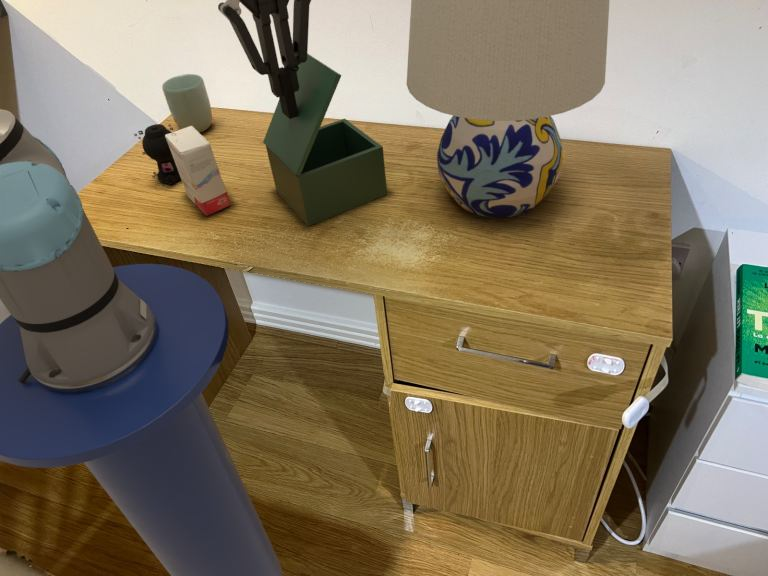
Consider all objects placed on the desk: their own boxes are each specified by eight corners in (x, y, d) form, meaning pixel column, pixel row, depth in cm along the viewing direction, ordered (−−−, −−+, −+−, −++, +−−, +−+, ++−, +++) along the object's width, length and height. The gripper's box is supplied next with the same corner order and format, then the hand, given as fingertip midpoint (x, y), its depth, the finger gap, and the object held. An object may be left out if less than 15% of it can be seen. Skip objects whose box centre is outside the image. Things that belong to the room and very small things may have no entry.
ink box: (232, 206, 99) (213, 142, 91) (203, 218, 97) (181, 154, 89) (212, 185, 104) (192, 123, 96) (185, 196, 102) (162, 133, 95)
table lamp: (440, 143, 109) (436, -117, 82) (593, 160, 100) (644, -123, 74) (388, 228, 91) (361, -70, 64) (570, 258, 82) (627, -72, 55)
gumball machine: (151, 189, 105) (131, 138, 98) (153, 173, 109) (134, 123, 103) (189, 182, 106) (172, 131, 99) (190, 166, 110) (173, 116, 103)
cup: (223, 123, 123) (210, 75, 116) (200, 140, 118) (185, 92, 111) (193, 118, 125) (179, 72, 119) (170, 135, 120) (153, 88, 114)
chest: (350, 163, 106) (344, 118, 100) (387, 194, 98) (382, 146, 92) (276, 191, 101) (265, 145, 95) (308, 226, 93) (298, 178, 87)
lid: (302, 50, 90) (298, 48, 89) (341, 75, 81) (337, 73, 81) (267, 143, 95) (262, 142, 95) (300, 175, 87) (295, 174, 86)
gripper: (289, -82, 76) (318, 93, 92) (192, -61, 72) (240, 118, 88) (314, -74, 72) (340, 109, 87) (212, -51, 67) (259, 137, 83)
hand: (290, 114), depth 88 cm, fingers closed
